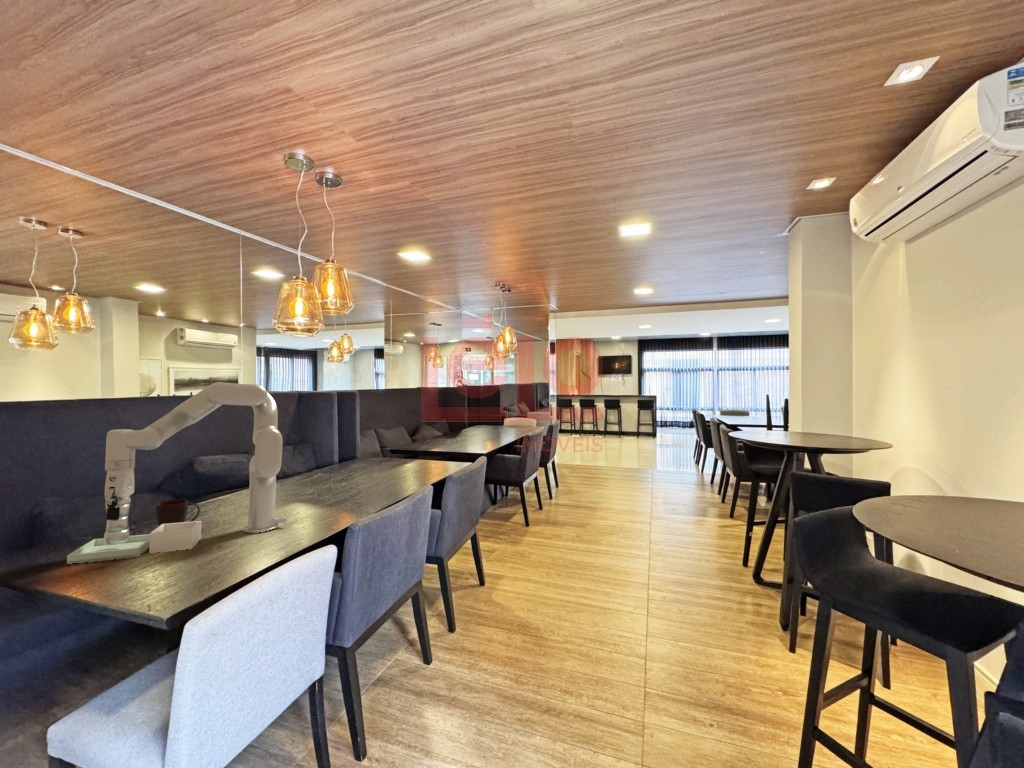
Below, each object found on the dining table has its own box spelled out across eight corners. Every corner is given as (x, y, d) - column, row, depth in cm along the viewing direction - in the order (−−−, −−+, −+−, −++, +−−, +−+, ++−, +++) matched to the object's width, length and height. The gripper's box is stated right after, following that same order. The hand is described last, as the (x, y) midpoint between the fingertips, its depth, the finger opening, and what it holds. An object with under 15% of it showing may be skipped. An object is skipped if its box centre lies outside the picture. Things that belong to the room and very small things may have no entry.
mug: (154, 532, 164) (156, 501, 164) (198, 525, 173) (199, 496, 173) (154, 538, 156) (155, 507, 157) (199, 531, 165) (201, 501, 166)
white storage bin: (200, 539, 157) (201, 520, 157) (191, 549, 146) (192, 529, 147) (161, 543, 152) (162, 524, 152) (149, 553, 142) (150, 533, 142)
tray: (157, 541, 153) (157, 533, 153) (138, 557, 139) (139, 548, 139) (93, 547, 146) (93, 539, 146) (66, 564, 131) (67, 555, 132)
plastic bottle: (134, 540, 146) (137, 484, 146) (114, 547, 139) (117, 488, 140) (118, 540, 146) (121, 483, 147) (97, 546, 140) (100, 487, 140)
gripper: (122, 468, 137) (119, 522, 136) (144, 460, 153) (141, 509, 152) (92, 469, 134) (89, 525, 133) (118, 461, 150) (115, 511, 149)
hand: (117, 516), depth 143 cm, fingers closed on plastic bottle, 6 cm apart
